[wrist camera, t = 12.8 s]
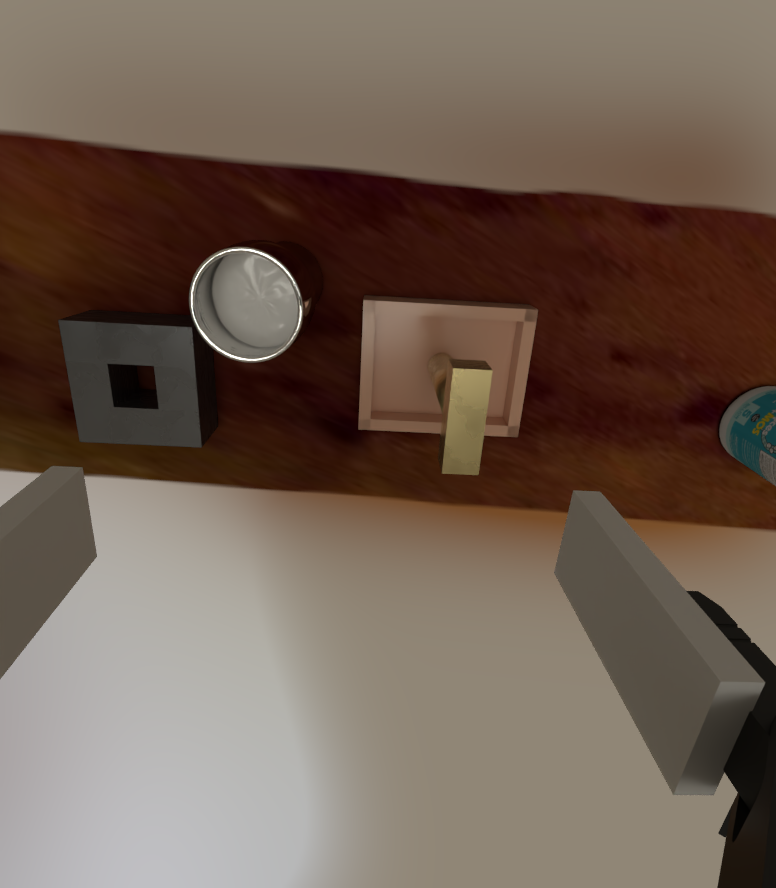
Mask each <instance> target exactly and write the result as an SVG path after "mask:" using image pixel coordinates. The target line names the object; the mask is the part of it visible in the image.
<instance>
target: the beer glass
mask: <svg viewBox="0 0 776 888" xmlns="http://www.w3.org/2000/svg"><path fill="white" fill-rule="evenodd" d="M322 290H323V274H322V270H321V267H320V265H319V263H318V261H317V259H316V258H315V257H314V255H313V254H312V253H311V252H310V251H308V250H307V249H306V248H304V247H303V246H301V245H299V244H296V243H293V242H287V241H281V242H272V241H267V240H248V241H243V242H240V243H236V244H233V245H231V246H229V247H227V248H225V249H223V250H220V251H218V252H216V253H214V254H212V255H211V256H210V257H208V258H207V259H206V260H205V261H204V262H203V263H202V264H201V265H200V266H199V268H198V269H197V271H196V272H195V274H194V276H193V279H192V282H191V285H190V290H189V309H190V314H191V317H192V320H193V323H194V325H195V327H196V329H197V331H198V332H199V334H200V335H201V337H202V338H203V339H204V340H205V342H206V343H207V344H208V345H209V346H211V347H212V348H213V349H214V350H215V351H217V352H218V353H220V354H222V355H223V356H225V357H228V358H230V359H233V360H236V361H240V362H247V363H256V362H263V361H267V360H270V359H273V358H275V357H277V356H279V355H280V354H282V353H283V352H284V351H285V350H287V349H288V348H289V347H290V346H291V345H292V344H294V343H295V342H296V341H297V340H298V339H299V338H300V337H301V335H302V334H303V333H304V332H305V330H306V329H307V327H308V326H309V324H310V322H311V319H312V317H313V314H314V311H315V307H316V304H317V302H318V301H319V299H320V297H321V294H322Z"/></svg>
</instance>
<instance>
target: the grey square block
mask: <svg viewBox="0 0 776 888" xmlns="http://www.w3.org/2000/svg"><path fill="white" fill-rule="evenodd" d="M58 321H59V327H60V332H61V338H62V344H63V349H64V355H65V361H66V366H67V372H68V378H69V383H70V389H71V395H72V400H73V406H74V412H75V417H76V423H77V428H78V434H79V440H80V442H95V443H117V444H139V445H160V446H182V447H202V446H203V445H204V444H205V442H206V441H207V440H208V439H209V437H210V436H211V435H212V433H213V432H214V431H215V430H216V428H217V427H218V417H217V402H216V388H215V373H214V359H213V348H212V347H211V346H209V345H208V344H207V343H206V342H205V340H204V339H203V338H202V337H201V335H200V334H199V332H198V331H197V329H196V327H195V325H194V323H193V320H192V317H191V315H174V314H156V313H138V312H120V311H102V310H89V311H86V312H83V313H79V314H76V315H73V316H70V317H67V318H63V319H60V320H58ZM136 365H144V366H154V371H155V380H156V389H157V390H146V389H139V384H138V376H137V368H136Z"/></svg>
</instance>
